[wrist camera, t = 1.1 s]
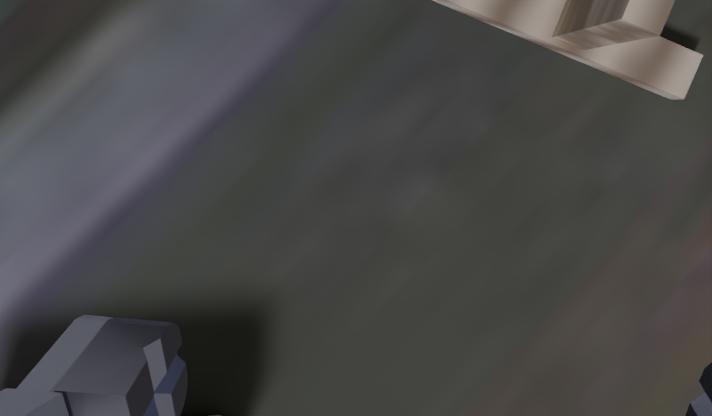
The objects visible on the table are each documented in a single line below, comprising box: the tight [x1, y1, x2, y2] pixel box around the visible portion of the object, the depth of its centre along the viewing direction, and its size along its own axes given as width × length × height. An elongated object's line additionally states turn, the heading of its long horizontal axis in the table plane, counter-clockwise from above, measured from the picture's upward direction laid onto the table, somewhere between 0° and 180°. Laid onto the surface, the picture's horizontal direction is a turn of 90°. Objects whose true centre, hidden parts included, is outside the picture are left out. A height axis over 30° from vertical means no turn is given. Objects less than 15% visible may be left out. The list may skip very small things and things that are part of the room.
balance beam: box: [433, 0, 703, 99], centre depth 42 cm, size 24×4×12 cm, turn 70°
